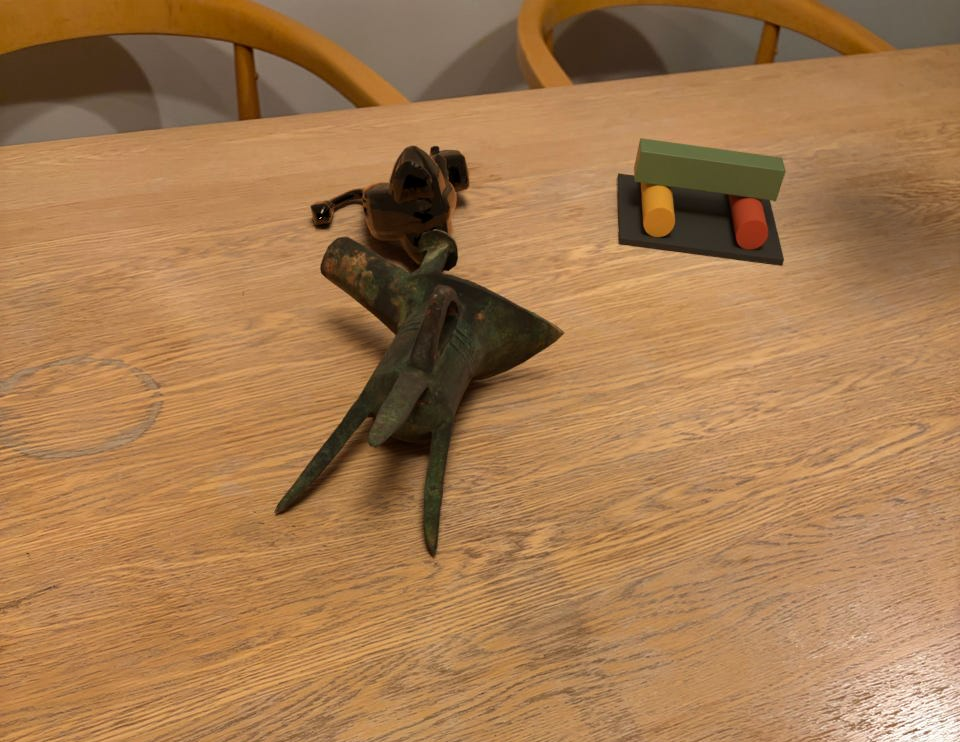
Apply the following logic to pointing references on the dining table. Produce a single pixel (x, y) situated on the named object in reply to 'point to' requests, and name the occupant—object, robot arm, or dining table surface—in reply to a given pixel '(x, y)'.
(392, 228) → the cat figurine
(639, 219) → the rod stand
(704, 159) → the bar
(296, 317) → the dining table surface
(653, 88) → the dining table surface
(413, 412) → the vessel
